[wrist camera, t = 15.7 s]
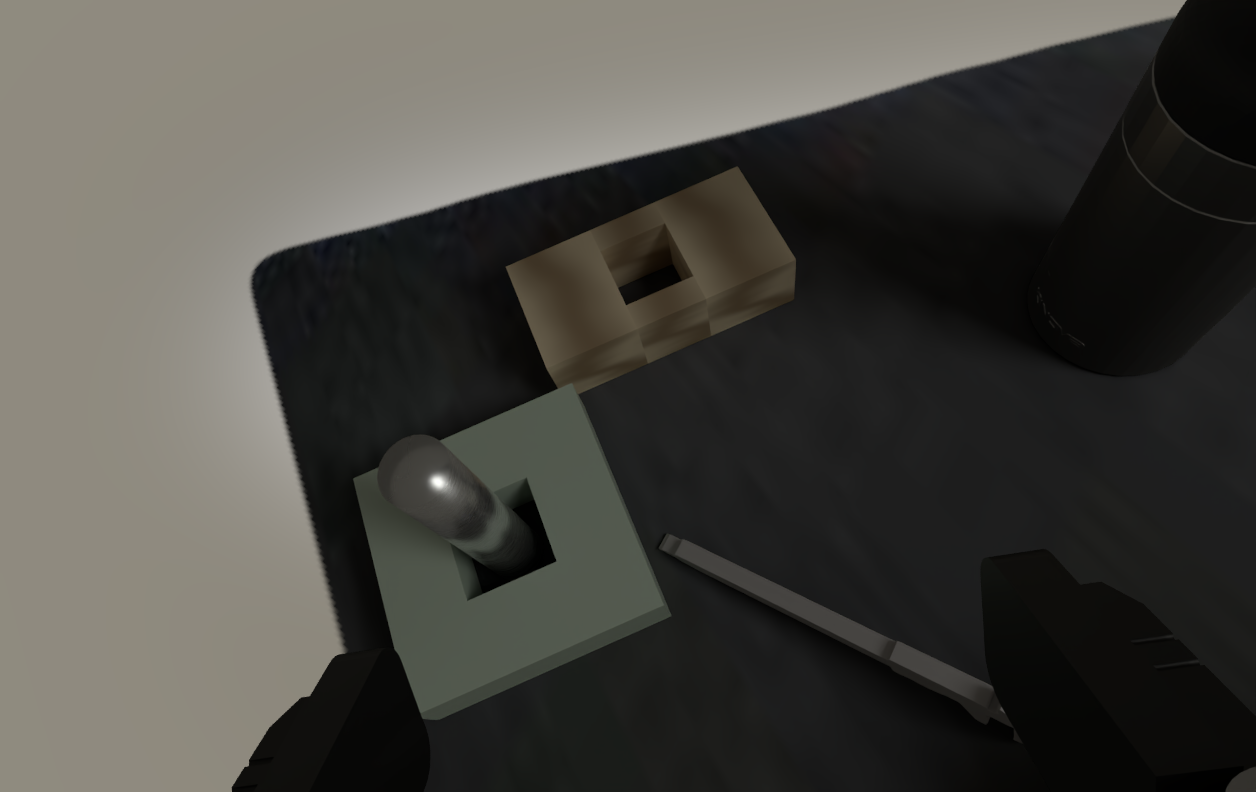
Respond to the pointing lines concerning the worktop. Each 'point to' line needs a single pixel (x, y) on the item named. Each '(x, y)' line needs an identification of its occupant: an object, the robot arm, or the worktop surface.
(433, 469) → the axle
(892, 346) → the worktop surface
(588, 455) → the socket block
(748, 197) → the wooden block with hole
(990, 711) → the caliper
